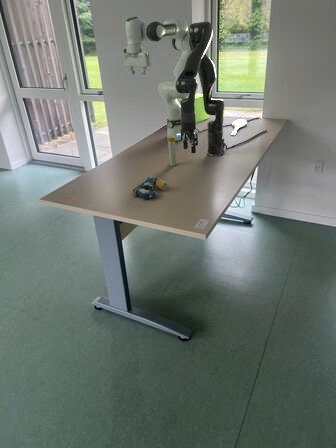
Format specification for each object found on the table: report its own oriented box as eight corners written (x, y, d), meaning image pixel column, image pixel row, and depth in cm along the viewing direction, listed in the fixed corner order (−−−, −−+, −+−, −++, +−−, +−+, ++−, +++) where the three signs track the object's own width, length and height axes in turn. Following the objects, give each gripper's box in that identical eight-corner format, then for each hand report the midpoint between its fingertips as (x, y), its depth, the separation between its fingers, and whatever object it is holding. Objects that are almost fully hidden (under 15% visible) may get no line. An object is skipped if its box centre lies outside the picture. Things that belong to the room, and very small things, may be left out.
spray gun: (173, 183, 178) (149, 181, 184) (172, 176, 176) (148, 174, 182) (155, 202, 162) (129, 198, 169) (154, 194, 160) (128, 191, 167)
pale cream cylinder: (171, 166, 200) (169, 139, 192) (168, 164, 204) (166, 137, 195) (177, 165, 202) (175, 137, 193) (174, 162, 205) (172, 136, 196)
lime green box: (191, 115, 302) (190, 88, 290) (208, 118, 288) (208, 90, 276) (170, 121, 289) (168, 93, 277) (187, 125, 275) (185, 95, 263)
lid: (169, 142, 192) (168, 138, 191) (165, 140, 196) (165, 136, 195) (176, 140, 194) (176, 137, 193) (173, 138, 198) (173, 135, 196)
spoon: (240, 137, 241) (240, 135, 240) (225, 137, 245) (225, 134, 244) (248, 121, 267) (248, 119, 266) (234, 121, 271) (234, 118, 270)
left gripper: (151, 48, 193) (154, 74, 200) (128, 49, 206) (131, 73, 213) (143, 49, 189) (146, 76, 197) (120, 50, 202) (123, 74, 209)
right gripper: (201, 121, 165) (202, 153, 174) (187, 116, 177) (189, 146, 185) (188, 124, 163) (190, 156, 171) (175, 118, 174) (177, 148, 182)
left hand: (138, 74), depth 205 cm, fingers open, 8 cm apart
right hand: (189, 150), depth 178 cm, fingers open, 8 cm apart
